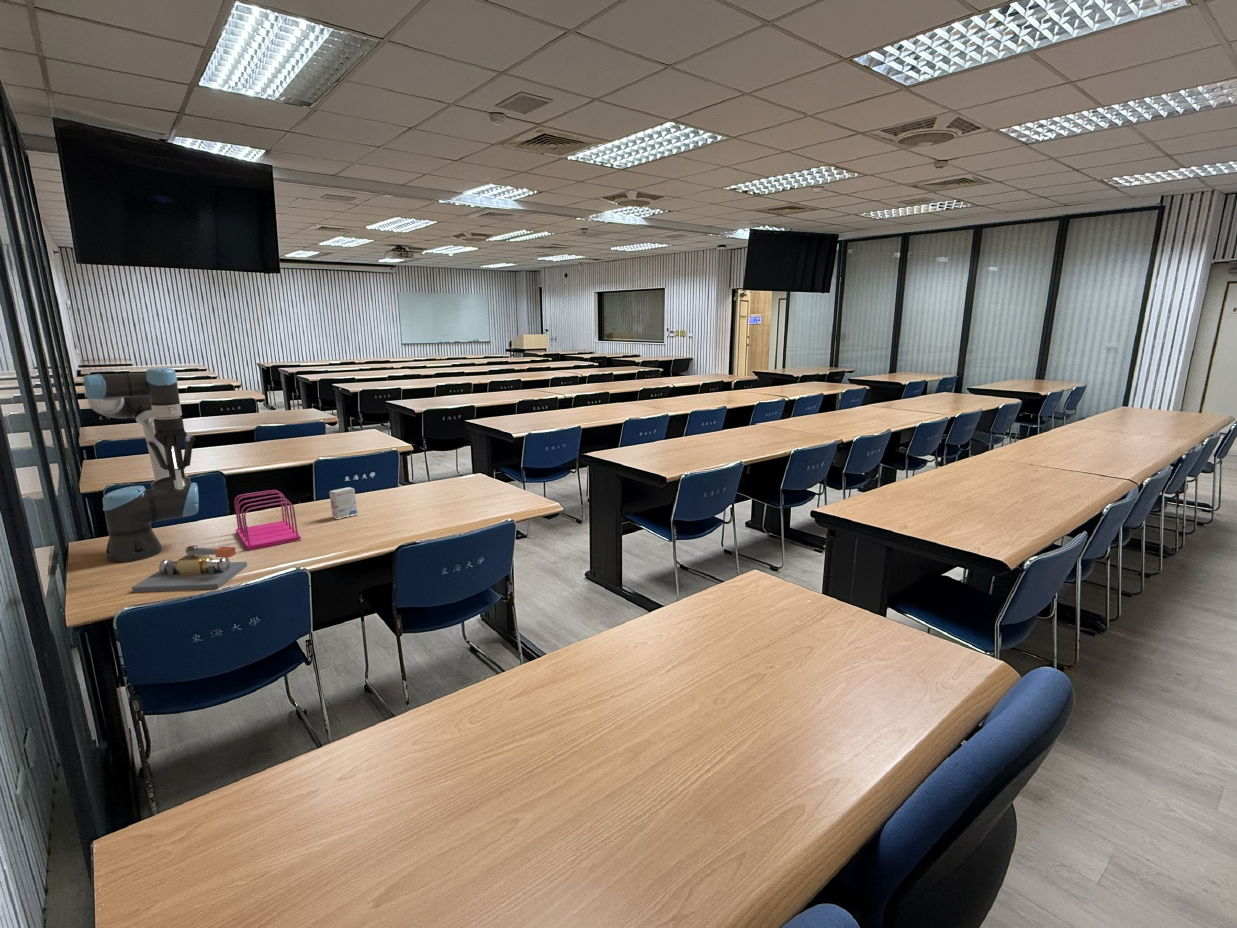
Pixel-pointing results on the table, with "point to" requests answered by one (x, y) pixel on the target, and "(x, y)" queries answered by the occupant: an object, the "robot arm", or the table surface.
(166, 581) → the mounting board
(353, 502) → the ink box
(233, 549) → the valve lever
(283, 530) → the file sorter
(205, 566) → the valve pipe
